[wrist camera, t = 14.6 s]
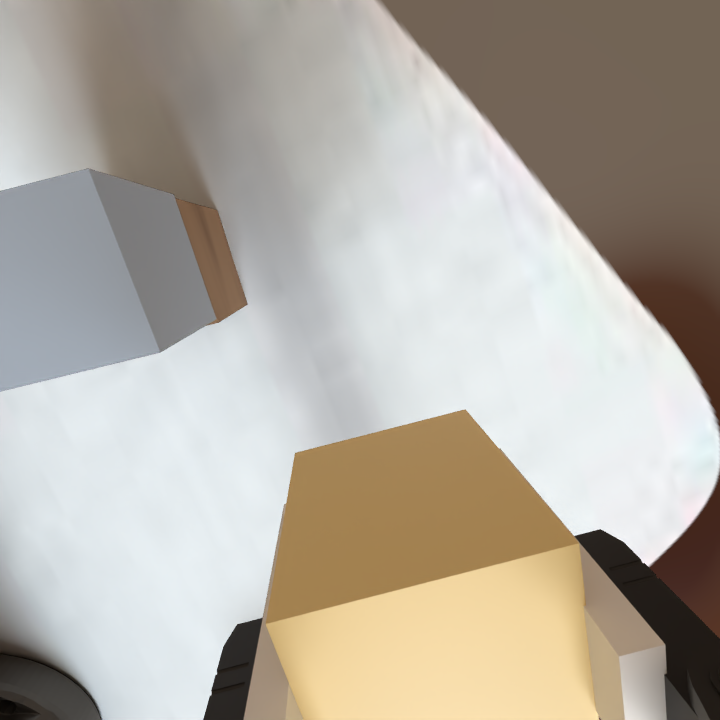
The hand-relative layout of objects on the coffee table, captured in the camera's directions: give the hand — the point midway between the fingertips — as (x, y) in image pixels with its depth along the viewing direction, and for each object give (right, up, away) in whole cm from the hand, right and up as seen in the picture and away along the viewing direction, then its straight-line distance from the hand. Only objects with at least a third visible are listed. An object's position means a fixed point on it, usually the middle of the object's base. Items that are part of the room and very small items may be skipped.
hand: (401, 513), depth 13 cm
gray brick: (-11, +9, +5) cm, 15 cm away
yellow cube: (0, 0, 0) cm, 0 cm away
